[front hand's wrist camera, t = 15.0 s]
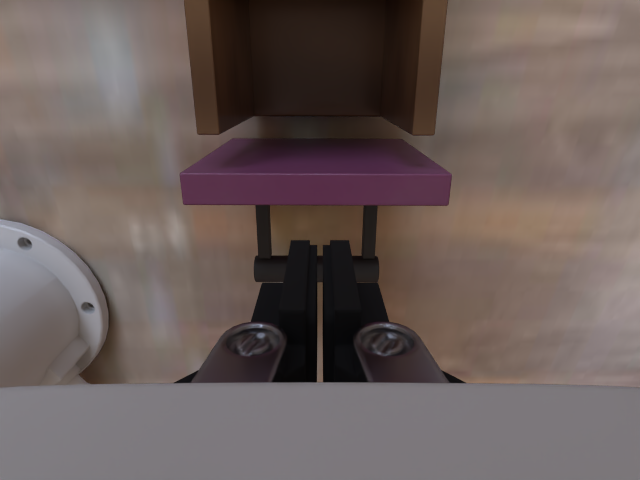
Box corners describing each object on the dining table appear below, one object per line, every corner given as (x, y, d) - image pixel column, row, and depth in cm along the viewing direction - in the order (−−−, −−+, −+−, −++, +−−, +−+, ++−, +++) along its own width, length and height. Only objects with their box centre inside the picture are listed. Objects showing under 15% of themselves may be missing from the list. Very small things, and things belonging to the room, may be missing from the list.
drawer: (394, 241, 26) (434, 325, 17) (239, 241, 26) (197, 325, 17) (426, -194, 19) (526, -451, 10) (208, -195, 19) (104, -454, 10)
